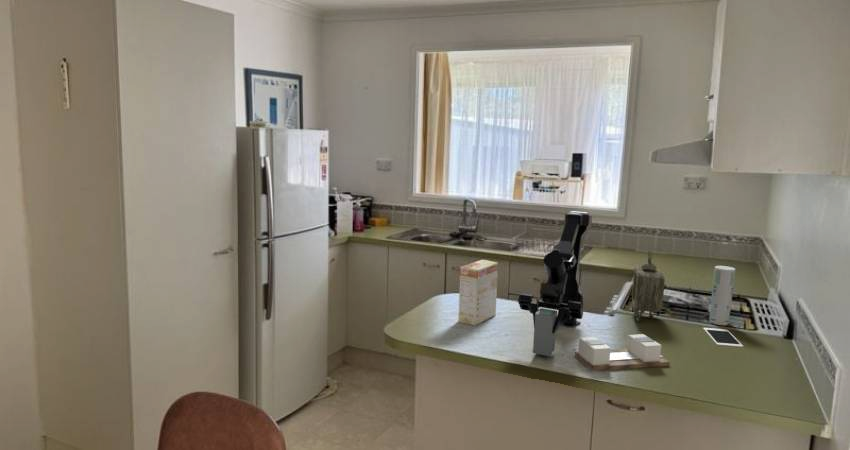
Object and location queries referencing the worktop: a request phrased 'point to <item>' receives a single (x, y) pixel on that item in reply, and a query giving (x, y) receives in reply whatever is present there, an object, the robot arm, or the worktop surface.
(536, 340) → the block
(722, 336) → the cell phone
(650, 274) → the mop head
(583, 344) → the mounted modules
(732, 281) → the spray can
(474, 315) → the coffeecake box
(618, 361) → the rail board
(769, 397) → the worktop surface
